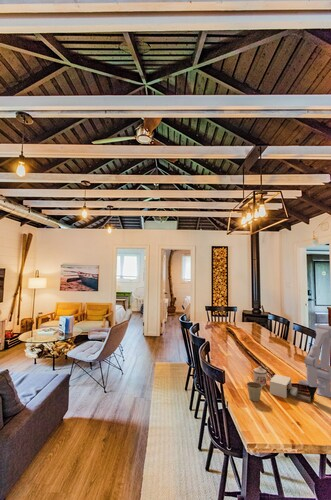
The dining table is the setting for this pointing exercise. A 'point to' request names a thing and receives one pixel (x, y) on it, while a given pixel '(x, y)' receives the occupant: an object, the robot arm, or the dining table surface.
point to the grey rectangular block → (279, 385)
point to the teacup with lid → (261, 376)
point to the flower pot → (254, 390)
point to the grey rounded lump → (293, 392)
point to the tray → (300, 396)
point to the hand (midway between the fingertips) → (312, 398)
